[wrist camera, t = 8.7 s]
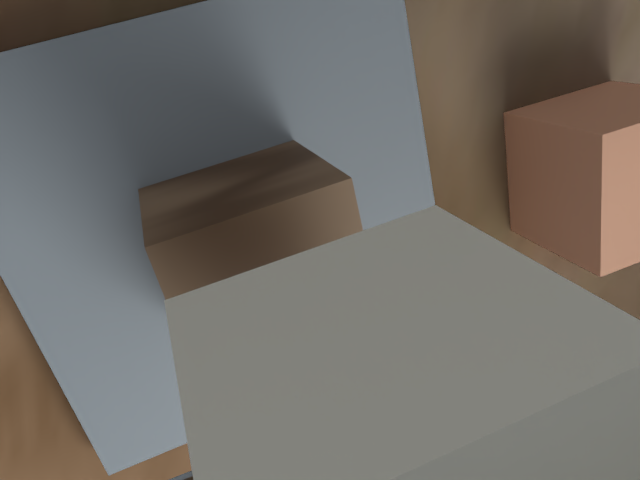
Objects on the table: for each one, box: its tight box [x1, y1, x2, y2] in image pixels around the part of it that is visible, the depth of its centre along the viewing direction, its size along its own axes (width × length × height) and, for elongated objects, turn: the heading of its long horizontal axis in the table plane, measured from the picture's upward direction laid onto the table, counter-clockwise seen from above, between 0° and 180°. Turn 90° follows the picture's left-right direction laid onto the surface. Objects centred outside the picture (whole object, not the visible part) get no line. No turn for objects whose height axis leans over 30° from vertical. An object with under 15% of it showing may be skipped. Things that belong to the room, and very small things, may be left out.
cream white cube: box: [164, 205, 640, 480], centre depth 8 cm, size 5×5×5 cm
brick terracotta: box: [504, 81, 640, 277], centre depth 21 cm, size 5×5×5 cm
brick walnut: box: [138, 140, 363, 300], centre depth 16 cm, size 5×5×5 cm
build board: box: [0, 0, 435, 475], centre depth 19 cm, size 14×14×1 cm
